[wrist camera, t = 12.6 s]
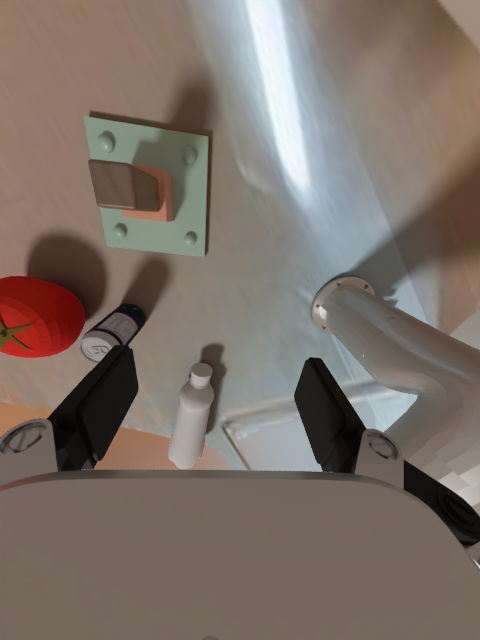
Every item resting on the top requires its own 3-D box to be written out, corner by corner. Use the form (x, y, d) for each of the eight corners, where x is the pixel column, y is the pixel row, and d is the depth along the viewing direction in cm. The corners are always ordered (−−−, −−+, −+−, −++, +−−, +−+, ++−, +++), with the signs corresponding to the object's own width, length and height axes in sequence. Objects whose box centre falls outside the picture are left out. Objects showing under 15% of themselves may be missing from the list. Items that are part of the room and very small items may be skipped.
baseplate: (208, 138, 28) (207, 134, 26) (205, 256, 35) (204, 257, 34) (88, 119, 26) (80, 113, 25) (110, 245, 34) (105, 247, 32)
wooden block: (130, 209, 27) (95, 207, 20) (125, 174, 25) (85, 157, 18) (160, 212, 27) (136, 211, 20) (157, 177, 26) (130, 162, 19)
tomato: (31, 328, 40) (-37, 367, 30) (14, 261, 34) (-79, 280, 24) (99, 340, 42) (57, 380, 32) (95, 278, 36) (40, 303, 26)
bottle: (208, 451, 57) (230, 370, 45) (185, 480, 49) (204, 392, 37) (184, 432, 60) (200, 351, 48) (160, 456, 53) (170, 368, 40)
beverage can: (114, 302, 38) (69, 334, 28) (144, 301, 39) (111, 334, 28) (121, 327, 41) (84, 366, 30) (149, 327, 41) (122, 365, 31)
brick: (172, 175, 29) (164, 169, 25) (173, 221, 32) (166, 221, 28) (129, 169, 28) (114, 162, 25) (134, 216, 31) (122, 216, 27)
